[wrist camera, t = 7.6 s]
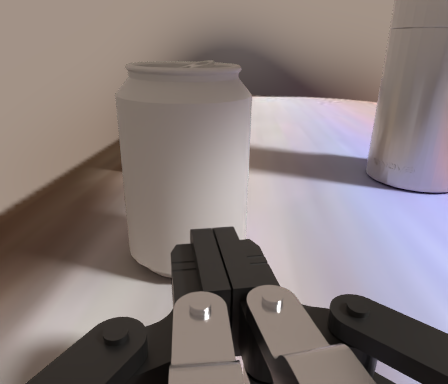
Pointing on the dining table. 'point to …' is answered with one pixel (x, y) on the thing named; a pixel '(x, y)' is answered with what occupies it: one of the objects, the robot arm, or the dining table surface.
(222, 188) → the can
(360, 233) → the dining table surface
